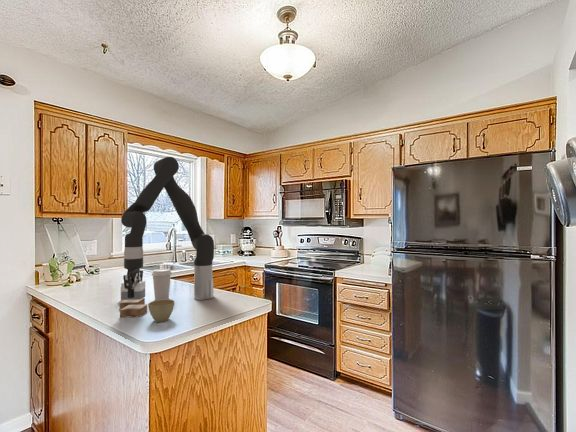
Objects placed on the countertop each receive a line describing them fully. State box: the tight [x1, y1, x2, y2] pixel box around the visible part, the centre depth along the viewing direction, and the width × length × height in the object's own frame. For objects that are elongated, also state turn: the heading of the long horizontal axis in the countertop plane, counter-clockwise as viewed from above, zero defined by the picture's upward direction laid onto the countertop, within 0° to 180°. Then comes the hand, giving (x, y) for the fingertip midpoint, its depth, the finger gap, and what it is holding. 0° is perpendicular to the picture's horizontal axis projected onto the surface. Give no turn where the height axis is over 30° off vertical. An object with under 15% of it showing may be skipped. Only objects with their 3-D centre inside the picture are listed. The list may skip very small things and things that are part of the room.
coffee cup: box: [151, 268, 172, 301], centre depth 160 cm, size 10×10×15 cm
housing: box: [120, 280, 146, 301], centre depth 135 cm, size 8×5×8 cm, turn 92°
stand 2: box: [119, 303, 148, 318], centre depth 135 cm, size 8×8×3 cm
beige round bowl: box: [147, 299, 175, 323], centre depth 127 cm, size 10×10×7 cm
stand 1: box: [119, 297, 146, 310], centre depth 147 cm, size 8×8×3 cm
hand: (133, 296), depth 135 cm, fingers closed on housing, 5 cm apart
